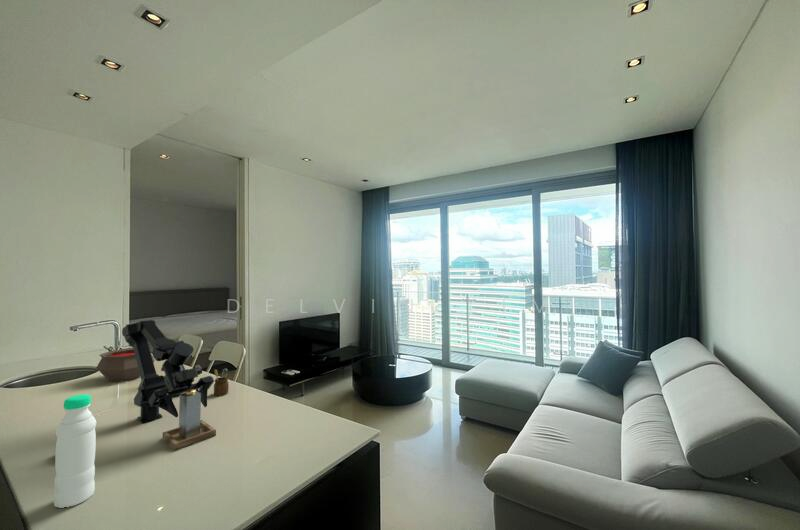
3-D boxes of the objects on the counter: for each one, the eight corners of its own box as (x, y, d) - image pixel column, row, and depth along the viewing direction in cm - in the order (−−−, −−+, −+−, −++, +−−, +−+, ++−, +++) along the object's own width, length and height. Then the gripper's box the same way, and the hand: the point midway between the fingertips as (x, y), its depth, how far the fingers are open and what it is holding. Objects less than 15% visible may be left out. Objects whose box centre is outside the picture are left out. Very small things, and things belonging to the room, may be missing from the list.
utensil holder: (231, 392, 151) (231, 366, 151) (219, 397, 145) (220, 370, 145) (221, 390, 153) (222, 365, 153) (210, 395, 147) (210, 369, 147)
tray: (162, 438, 108) (162, 432, 108) (201, 425, 118) (201, 419, 118) (175, 450, 101) (175, 444, 101) (215, 435, 110) (216, 429, 110)
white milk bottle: (72, 490, 82) (75, 391, 83) (102, 489, 83) (104, 391, 84) (44, 510, 75) (48, 402, 76) (77, 508, 76) (80, 401, 77)
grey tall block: (178, 436, 109) (179, 391, 109) (192, 430, 112) (193, 387, 113) (185, 440, 106) (186, 394, 107) (200, 434, 110) (200, 389, 111)
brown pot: (82, 383, 162) (83, 351, 162) (129, 369, 185) (130, 341, 186) (122, 386, 158) (123, 353, 158) (165, 372, 181) (166, 342, 182)
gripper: (153, 366, 104) (170, 407, 98) (211, 353, 120) (229, 388, 114) (141, 386, 108) (157, 427, 102) (199, 371, 124) (215, 406, 118)
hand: (192, 411), depth 109 cm, fingers open, 9 cm apart
